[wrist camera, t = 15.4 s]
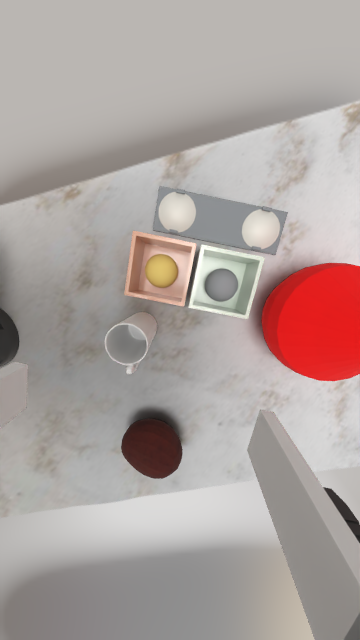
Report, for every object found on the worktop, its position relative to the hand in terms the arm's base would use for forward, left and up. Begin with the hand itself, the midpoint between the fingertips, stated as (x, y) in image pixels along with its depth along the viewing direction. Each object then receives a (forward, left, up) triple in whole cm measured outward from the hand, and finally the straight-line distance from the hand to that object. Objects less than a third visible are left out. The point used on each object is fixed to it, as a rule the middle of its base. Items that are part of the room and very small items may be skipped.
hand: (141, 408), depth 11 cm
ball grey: (+8, +8, -27) cm, 29 cm away
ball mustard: (-4, +8, -27) cm, 28 cm away
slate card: (+5, +19, -31) cm, 36 cm away
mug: (-6, -6, -31) cm, 32 cm away
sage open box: (+7, +8, -31) cm, 33 cm away
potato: (+1, -28, -31) cm, 42 cm away
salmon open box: (-4, +8, -31) cm, 32 cm away
